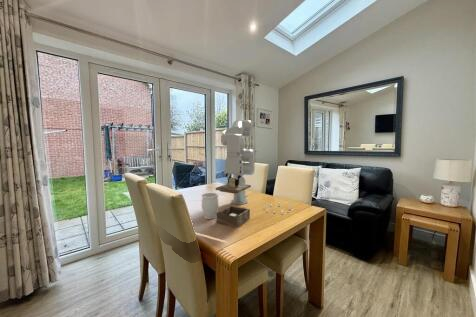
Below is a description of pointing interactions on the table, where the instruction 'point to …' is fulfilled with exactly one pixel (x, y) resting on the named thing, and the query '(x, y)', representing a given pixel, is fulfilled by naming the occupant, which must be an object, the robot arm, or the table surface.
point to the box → (227, 219)
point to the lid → (233, 187)
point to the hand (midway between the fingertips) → (233, 184)
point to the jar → (210, 205)
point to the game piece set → (279, 205)
